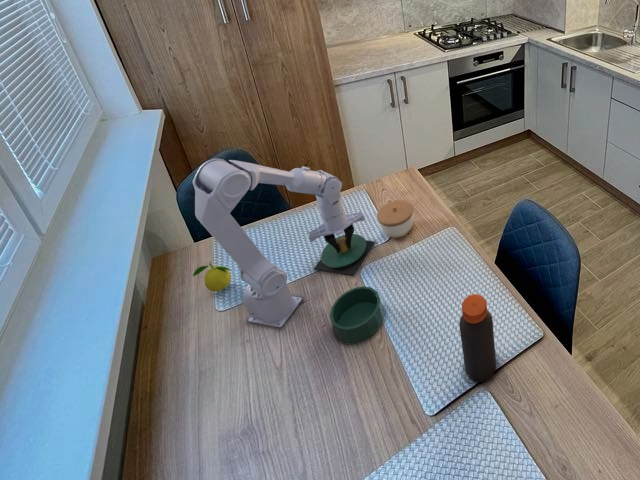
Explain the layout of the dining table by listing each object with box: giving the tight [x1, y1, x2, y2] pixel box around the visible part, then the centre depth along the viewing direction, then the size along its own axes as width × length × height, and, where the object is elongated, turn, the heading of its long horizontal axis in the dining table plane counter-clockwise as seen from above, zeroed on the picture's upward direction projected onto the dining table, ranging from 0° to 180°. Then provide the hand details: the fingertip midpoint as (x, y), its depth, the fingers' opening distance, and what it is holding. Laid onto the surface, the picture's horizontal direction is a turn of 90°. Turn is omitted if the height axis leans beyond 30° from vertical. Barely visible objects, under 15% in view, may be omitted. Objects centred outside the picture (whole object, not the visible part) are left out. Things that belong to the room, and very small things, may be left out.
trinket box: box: [376, 199, 415, 239], centre depth 124 cm, size 11×11×9 cm
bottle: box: [458, 293, 497, 383], centre depth 84 cm, size 7×7×20 cm
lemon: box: [192, 261, 232, 292], centre depth 106 cm, size 7×6×10 cm
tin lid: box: [320, 233, 367, 268], centre depth 116 cm, size 12×12×5 cm
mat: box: [313, 239, 376, 277], centre depth 117 cm, size 12×12×1 cm
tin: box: [329, 285, 384, 345], centre depth 97 cm, size 11×11×5 cm
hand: (343, 248), depth 116 cm, fingers closed on tin lid, 2 cm apart
